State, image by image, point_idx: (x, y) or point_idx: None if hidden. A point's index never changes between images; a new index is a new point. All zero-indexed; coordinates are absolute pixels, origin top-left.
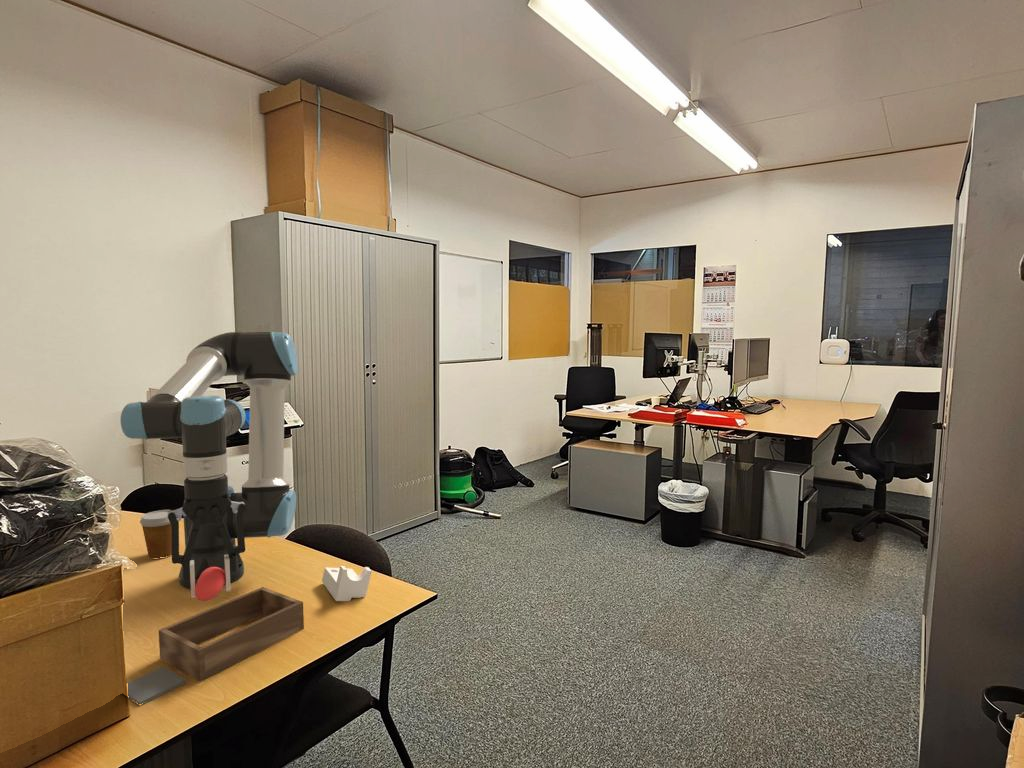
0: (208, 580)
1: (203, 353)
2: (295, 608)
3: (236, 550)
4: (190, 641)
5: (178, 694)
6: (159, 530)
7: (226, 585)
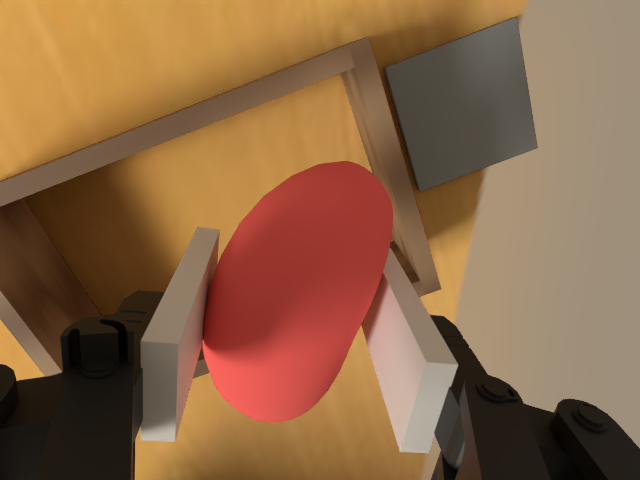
0: (325, 228)
1: None
2: None
3: (40, 406)
4: (377, 138)
5: (415, 10)
6: None
7: (213, 244)
